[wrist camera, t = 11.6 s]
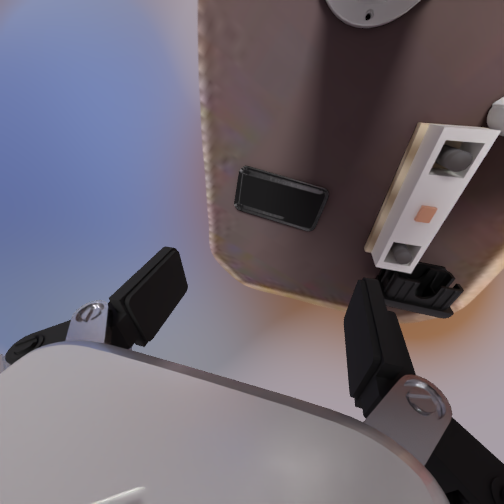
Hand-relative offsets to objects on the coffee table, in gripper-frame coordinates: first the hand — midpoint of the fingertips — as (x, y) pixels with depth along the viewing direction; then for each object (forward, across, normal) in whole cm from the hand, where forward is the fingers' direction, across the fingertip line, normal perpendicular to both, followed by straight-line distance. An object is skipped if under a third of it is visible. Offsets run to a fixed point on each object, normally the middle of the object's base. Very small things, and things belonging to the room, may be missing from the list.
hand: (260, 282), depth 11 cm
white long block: (+26, -16, +4) cm, 31 cm away
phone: (+28, +3, +6) cm, 29 cm away
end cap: (+28, -21, +19) cm, 39 cm away
